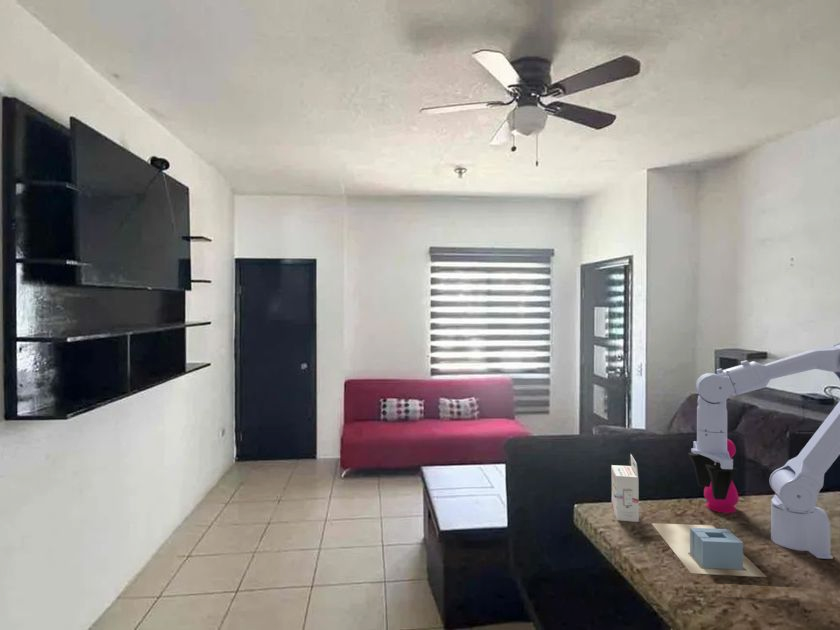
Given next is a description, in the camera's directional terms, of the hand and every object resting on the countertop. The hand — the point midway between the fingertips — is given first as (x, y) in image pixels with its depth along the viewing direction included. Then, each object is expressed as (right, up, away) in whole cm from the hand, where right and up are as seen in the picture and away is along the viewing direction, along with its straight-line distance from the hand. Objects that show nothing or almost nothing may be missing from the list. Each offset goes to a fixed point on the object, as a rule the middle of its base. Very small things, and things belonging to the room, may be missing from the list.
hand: (711, 492), depth 113 cm
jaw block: (-7, -9, -13) cm, 17 cm away
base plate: (-6, -10, -7) cm, 14 cm away
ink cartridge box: (-15, -10, +10) cm, 21 cm away
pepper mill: (+10, -10, +13) cm, 19 cm away
